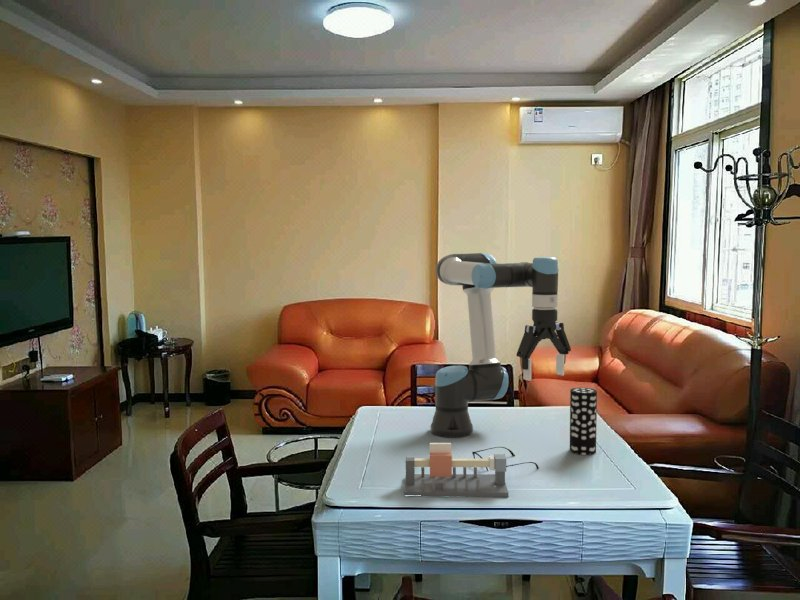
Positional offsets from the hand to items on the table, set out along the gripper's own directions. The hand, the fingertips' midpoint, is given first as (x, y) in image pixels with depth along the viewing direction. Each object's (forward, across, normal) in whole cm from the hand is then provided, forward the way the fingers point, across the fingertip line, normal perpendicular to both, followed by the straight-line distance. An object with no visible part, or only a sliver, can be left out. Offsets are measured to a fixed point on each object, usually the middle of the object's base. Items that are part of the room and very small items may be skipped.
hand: (544, 377), depth 203 cm
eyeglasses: (+27, -12, +4) cm, 30 cm away
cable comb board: (+27, -35, -2) cm, 44 cm away
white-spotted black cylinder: (+27, +19, +1) cm, 33 cm away
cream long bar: (+21, -35, -2) cm, 41 cm away
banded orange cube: (+23, -38, 0) cm, 45 cm away
